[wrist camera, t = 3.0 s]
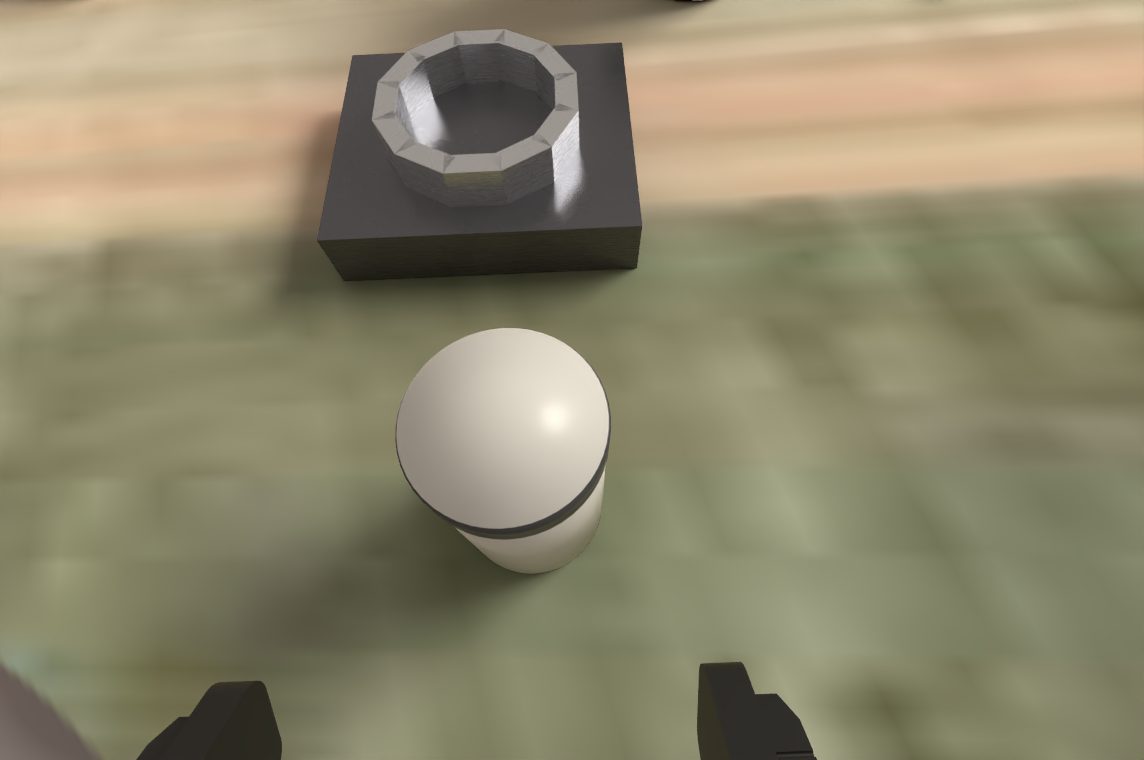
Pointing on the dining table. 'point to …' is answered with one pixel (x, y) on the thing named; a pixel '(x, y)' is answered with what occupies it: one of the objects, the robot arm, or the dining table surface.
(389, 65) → the grey ring holder base
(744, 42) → the dining table surface
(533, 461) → the white banded cylinder
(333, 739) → the dining table surface
